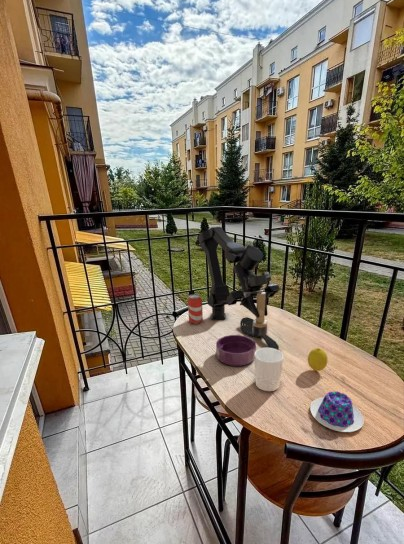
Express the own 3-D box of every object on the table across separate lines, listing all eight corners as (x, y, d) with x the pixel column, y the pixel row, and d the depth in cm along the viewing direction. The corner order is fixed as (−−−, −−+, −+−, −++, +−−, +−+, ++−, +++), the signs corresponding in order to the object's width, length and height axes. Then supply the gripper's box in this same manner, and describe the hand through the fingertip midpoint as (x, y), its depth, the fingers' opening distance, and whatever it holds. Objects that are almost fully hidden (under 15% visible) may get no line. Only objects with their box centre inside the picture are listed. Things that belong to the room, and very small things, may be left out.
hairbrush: (267, 347, 96) (236, 316, 118) (266, 356, 97) (236, 324, 119) (288, 342, 98) (253, 313, 120) (287, 351, 100) (253, 321, 121)
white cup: (276, 396, 77) (278, 365, 73) (249, 387, 81) (250, 357, 77) (284, 381, 83) (287, 351, 79) (259, 373, 87) (260, 345, 83)
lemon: (316, 378, 83) (319, 354, 81) (302, 369, 88) (305, 346, 85) (329, 372, 86) (333, 349, 83) (315, 364, 90) (318, 342, 88)
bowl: (217, 346, 103) (216, 334, 101) (253, 347, 102) (253, 334, 100) (216, 367, 91) (215, 353, 89) (257, 367, 90) (257, 354, 88)
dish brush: (259, 327, 101) (261, 289, 96) (270, 332, 97) (272, 293, 92) (249, 331, 98) (250, 292, 93) (259, 337, 94) (261, 296, 89)
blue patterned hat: (300, 403, 74) (302, 387, 72) (340, 395, 76) (343, 379, 74) (329, 439, 63) (332, 421, 61) (375, 428, 65) (379, 410, 63)
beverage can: (195, 325, 121) (193, 299, 116) (186, 321, 125) (184, 296, 121) (205, 321, 124) (204, 296, 120) (196, 317, 129) (195, 292, 125)
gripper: (230, 268, 90) (247, 311, 84) (278, 261, 96) (297, 301, 90) (219, 285, 99) (234, 325, 94) (264, 277, 106) (280, 315, 100)
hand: (262, 316), depth 94 cm, fingers closed on dish brush, 3 cm apart
